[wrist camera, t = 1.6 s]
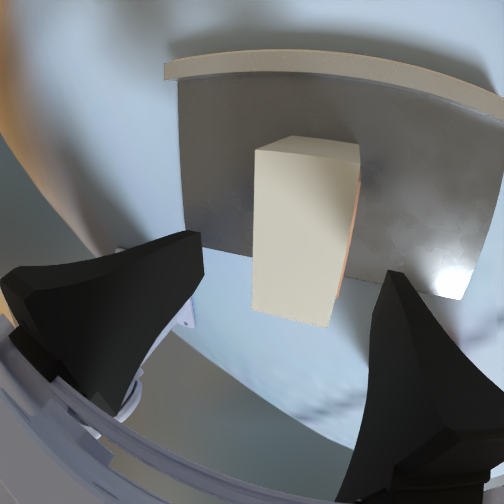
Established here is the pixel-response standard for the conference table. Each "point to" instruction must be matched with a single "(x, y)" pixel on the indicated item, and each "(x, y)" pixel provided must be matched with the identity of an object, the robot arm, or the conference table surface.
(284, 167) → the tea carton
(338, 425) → the conference table surface
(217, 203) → the shelf board
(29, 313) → the robot arm
